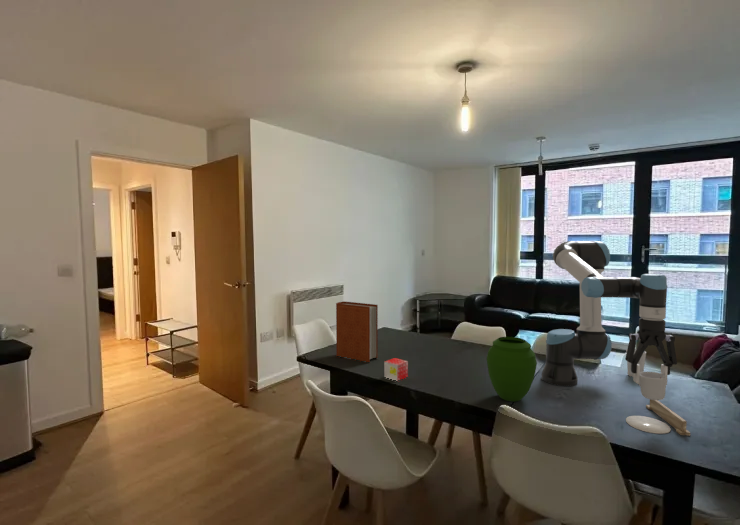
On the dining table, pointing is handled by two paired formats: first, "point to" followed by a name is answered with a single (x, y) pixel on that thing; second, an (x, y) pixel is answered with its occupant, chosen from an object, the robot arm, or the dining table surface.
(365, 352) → the book
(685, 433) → the rail
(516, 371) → the vase
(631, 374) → the cup
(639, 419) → the coaster
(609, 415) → the dining table surface
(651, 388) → the cup
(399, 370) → the puzzle cube
